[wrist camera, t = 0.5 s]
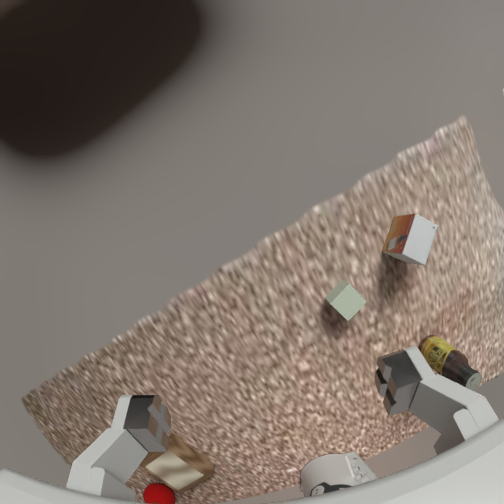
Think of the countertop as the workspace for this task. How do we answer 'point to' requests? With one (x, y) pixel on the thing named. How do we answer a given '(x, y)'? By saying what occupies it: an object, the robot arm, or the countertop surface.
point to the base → (178, 465)
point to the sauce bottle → (449, 362)
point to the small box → (410, 238)
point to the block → (345, 299)
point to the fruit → (158, 494)
